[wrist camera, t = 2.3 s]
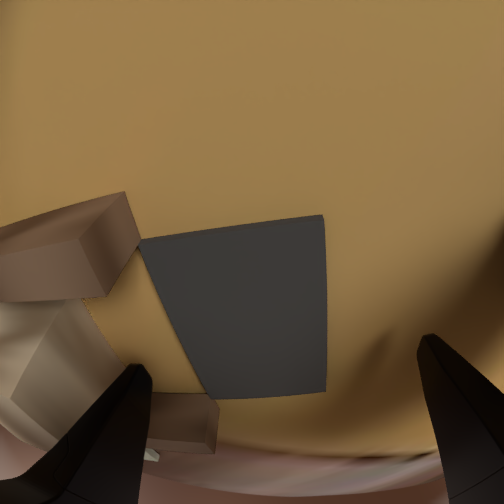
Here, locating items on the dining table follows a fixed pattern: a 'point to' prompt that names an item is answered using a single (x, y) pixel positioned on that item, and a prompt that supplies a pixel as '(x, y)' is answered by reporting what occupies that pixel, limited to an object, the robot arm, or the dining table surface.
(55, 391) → the beech block
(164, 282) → the tile
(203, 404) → the walnut channel
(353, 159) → the dining table surface
